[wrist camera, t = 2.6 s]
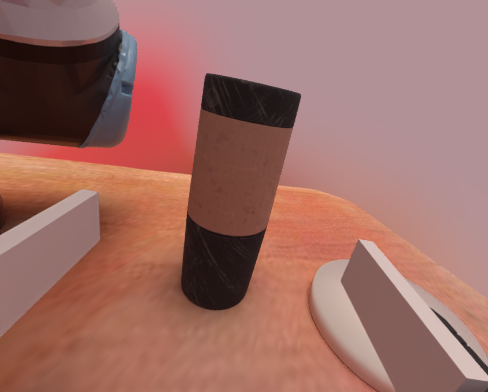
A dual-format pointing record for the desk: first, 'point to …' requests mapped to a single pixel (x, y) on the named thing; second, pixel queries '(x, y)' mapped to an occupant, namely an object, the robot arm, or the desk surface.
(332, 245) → the desk surface
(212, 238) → the travel mug
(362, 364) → the white round disc
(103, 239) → the desk surface
